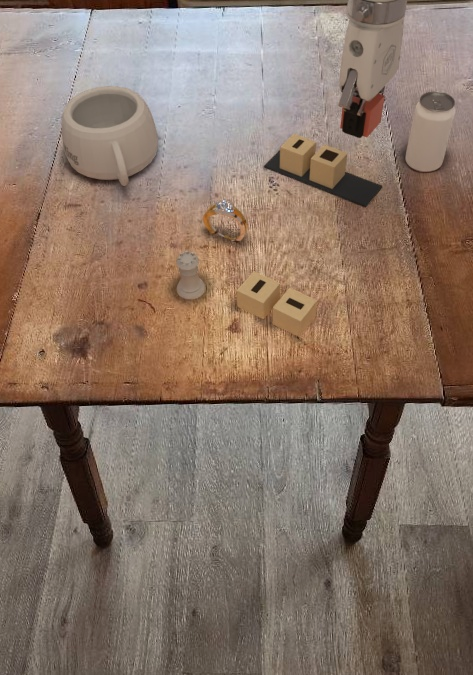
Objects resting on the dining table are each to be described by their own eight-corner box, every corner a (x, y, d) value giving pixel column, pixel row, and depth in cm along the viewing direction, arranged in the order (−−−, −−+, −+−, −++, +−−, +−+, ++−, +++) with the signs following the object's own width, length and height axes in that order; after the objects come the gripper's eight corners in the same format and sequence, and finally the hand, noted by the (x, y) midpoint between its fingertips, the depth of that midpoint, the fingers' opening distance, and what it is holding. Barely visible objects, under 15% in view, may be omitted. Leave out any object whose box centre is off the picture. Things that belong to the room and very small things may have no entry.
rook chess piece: (195, 279, 103) (191, 241, 97) (212, 296, 101) (209, 258, 95) (171, 292, 102) (165, 254, 96) (187, 310, 100) (182, 273, 93)
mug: (61, 139, 126) (47, 91, 119) (148, 120, 129) (141, 72, 121) (80, 212, 114) (66, 163, 106) (176, 190, 116) (170, 141, 109)
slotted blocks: (359, 338, 95) (363, 316, 91) (339, 368, 92) (342, 346, 89) (241, 282, 103) (240, 259, 99) (219, 308, 100) (217, 285, 96)
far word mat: (382, 187, 115) (386, 163, 111) (365, 207, 112) (369, 183, 108) (281, 149, 122) (282, 125, 119) (263, 167, 120) (263, 143, 116)
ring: (250, 242, 108) (249, 204, 102) (240, 255, 106) (238, 217, 100) (212, 228, 110) (209, 190, 104) (202, 241, 109) (198, 202, 102)
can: (437, 149, 121) (452, 88, 112) (446, 172, 117) (462, 111, 108) (401, 151, 121) (412, 90, 111) (409, 174, 117) (422, 113, 108)
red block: (380, 122, 102) (385, 94, 98) (367, 137, 100) (370, 110, 96) (354, 113, 103) (357, 85, 100) (339, 128, 101) (342, 100, 98)
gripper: (373, 40, 81) (356, 164, 96) (431, -17, 90) (408, 104, 104) (318, 24, 84) (310, 147, 99) (379, -30, 93) (364, 90, 107)
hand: (360, 124), depth 101 cm, fingers closed on red block, 4 cm apart
